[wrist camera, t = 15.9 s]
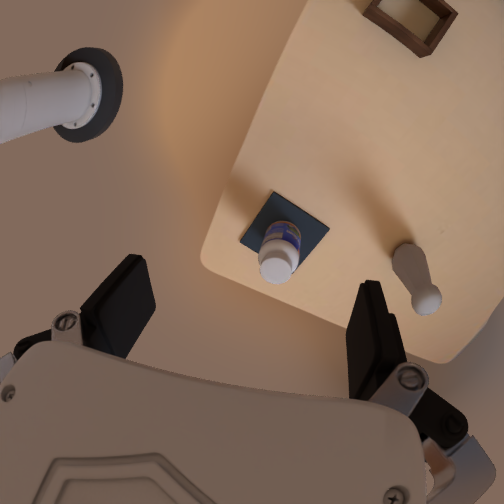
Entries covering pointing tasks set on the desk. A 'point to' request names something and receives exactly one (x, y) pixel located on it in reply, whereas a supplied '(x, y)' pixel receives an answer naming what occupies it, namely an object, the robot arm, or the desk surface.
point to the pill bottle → (279, 252)
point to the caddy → (421, 49)
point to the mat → (285, 211)
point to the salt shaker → (416, 278)
